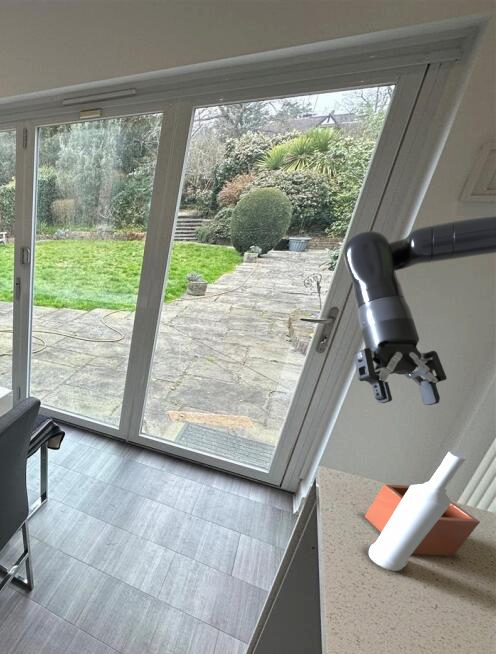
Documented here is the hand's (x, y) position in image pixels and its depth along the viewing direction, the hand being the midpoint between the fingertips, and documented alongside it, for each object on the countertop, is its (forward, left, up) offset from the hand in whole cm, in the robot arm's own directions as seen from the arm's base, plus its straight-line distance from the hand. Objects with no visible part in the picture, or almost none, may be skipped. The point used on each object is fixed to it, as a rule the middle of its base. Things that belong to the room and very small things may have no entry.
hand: (408, 403), depth 76 cm
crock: (-8, +6, -28) cm, 29 cm away
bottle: (+2, +13, -28) cm, 31 cm away
